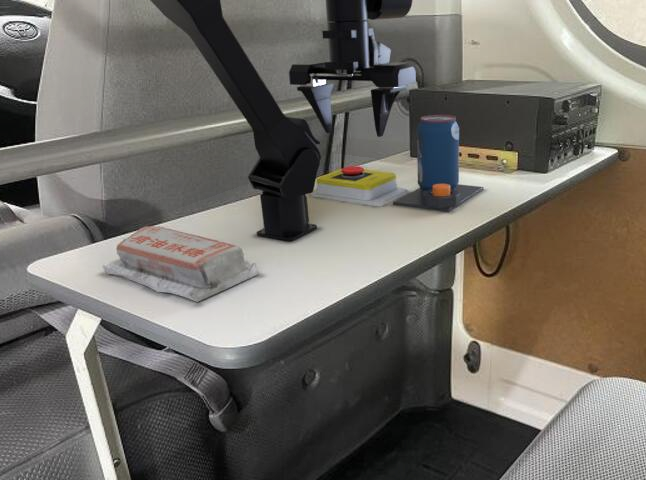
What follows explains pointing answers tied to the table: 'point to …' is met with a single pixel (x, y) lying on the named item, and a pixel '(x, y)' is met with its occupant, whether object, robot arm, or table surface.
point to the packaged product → (180, 263)
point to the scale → (439, 198)
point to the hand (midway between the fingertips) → (354, 134)
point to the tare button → (441, 190)
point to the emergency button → (359, 186)
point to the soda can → (438, 151)
